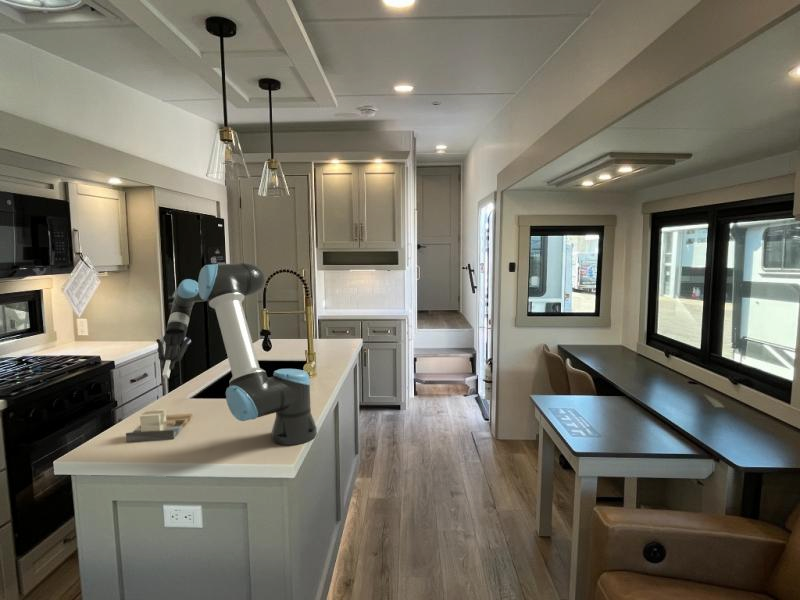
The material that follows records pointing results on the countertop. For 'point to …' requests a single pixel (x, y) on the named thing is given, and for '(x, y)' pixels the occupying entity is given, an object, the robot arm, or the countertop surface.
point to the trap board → (173, 428)
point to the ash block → (153, 420)
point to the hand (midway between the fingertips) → (165, 376)
